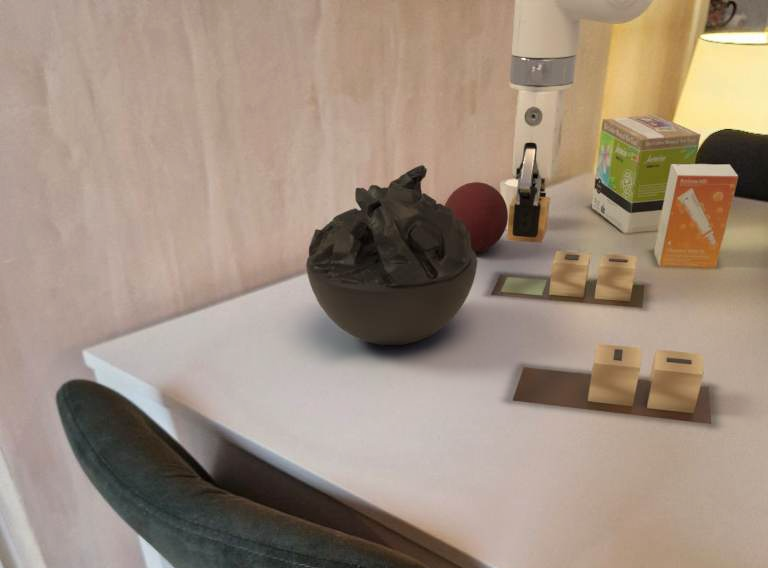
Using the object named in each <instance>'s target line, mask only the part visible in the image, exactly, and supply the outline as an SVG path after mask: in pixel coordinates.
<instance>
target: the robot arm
mask: <svg viewBox="0 0 768 568" xmlns="http://www.w3.org/2000/svg"><path fill="white" fill-rule="evenodd" d="M653 1H654V0H514V12H513V27H512V41H511V55H510V70H509V71H510V72H509V83H508V84H509V85H508V87H509V88H510V89H512V90H517V98H516V99H517V100H516V108H515V122H514V134H513V147H512V148H513V149H512V150H513V151H512V165H511V166H512V168H511V170H512V171H511V172H512V178H515V179H516V180H517V179H518V187H517V196H516V203H515V208H514V220H513V235H514V236H521V237H536V236H537V234H538V226H539V216H540V206H541V204H538V202H539V197H547V192H546V188H547V187H546V186H547V182H550V181H551V180H552V179H553V178H554V176H555V174H556V172H557V170H558V167H559V164H560V156H561V141H562V133H563V131H562V130H563V120H564V107H565V91H567V90H569V89H572V88H573V87H574V81H575V73H576V65H577V56H578V47H579V46H578V45H579V38H580V37H579V36H580V29H581V21H582V20H583V21H592V22H597V23H603V24H611V25H622V24H626V23H629V22H632V21H634V20H636V19H637V18H639V17H640V16H642V15H643V14H644V13H645V12H646V11H647V10H648V9H649V8H650V6H651V5H652V4H653Z"/></svg>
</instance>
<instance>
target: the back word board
mask: <svg viewBox="0 0 768 568" xmlns="http://www.w3.org/2000/svg"><path fill="white" fill-rule="evenodd" d="M591 254H592V253H591V252H581V251H566V250H556V251H555V254H554V257H553V260H552V263H551V273H550V277H544V276H543V277H542V276H541V277H540V276H530V275H529V276H528V275H518V274H517V275H516V274H502V273H500V275H499V276H498V279H497V281H496V283H495V285H494V287H493V288H492V291H491V293H490V296H496V297H509V298H519V299H532V300H543V301H555V302H565V303H566V302H568V303H580V304H590V305H591V304H592V305H600V306H601V305H602V306H613V307H614V306H615V307H625V308H637V309H643V307H644V296H645V295H644V294H645V293H644V292H645V285H644V284H643V285H642V284H634V280H635V275H636V268H637V262H638V261H637V259H638V256H637V255H625V254H609V253H601V256H600V259H599V263H598V270H597V277H596V281H591V280H588V276H589V270H590V262H591V256H592V255H591Z"/></svg>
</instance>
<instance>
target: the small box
mask: <svg viewBox="0 0 768 568" xmlns="http://www.w3.org/2000/svg"><path fill="white" fill-rule="evenodd" d="M738 179H739V175H738V174H737V172H736V171H735V169H734V168H733V167H732V165H731V164H730V163H728V164H726V163H725V164H711V163H710V164H709V163H695V164H671V167H670V172H669V177H668V182H667V188H666V193H665V198H664V203H663V208H662V213H661V218H660V223H659V228H658V230H657V235H656V241H655V245H654V251H653V253H654V255H655V259H656V261H657V264H658V266H659V267H678V268H679V267H682V268H685V267H686V268H687V267H688V268H717V264H718V261H719V257H720V252H721V249H722V245H723V240H724V236H725V233H726V228H727V224H728V221H729V216H730V213H731V208H732V205H733V200H734V197H735V193H736V188H737V184H738Z"/></svg>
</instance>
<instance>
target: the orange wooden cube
mask: <svg viewBox="0 0 768 568" xmlns="http://www.w3.org/2000/svg"><path fill="white" fill-rule="evenodd" d="M516 196H517V195H515V197H514V198H513V200H512V202H511V204H510V206H509V219H508V230H507V235H506V241H512V242H523V243H525V242H526V243H539V244H542V243H543V241H544V239H545V236H546V234H547V230H548V220H549V213H550V211H549V209H550V202H551V197H550V196H546V197H539V202H538V204H541V206H540V216H539V226H538V234H537V236H536V237H521V236H514V235H513V220H514V208H515V203H516Z"/></svg>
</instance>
